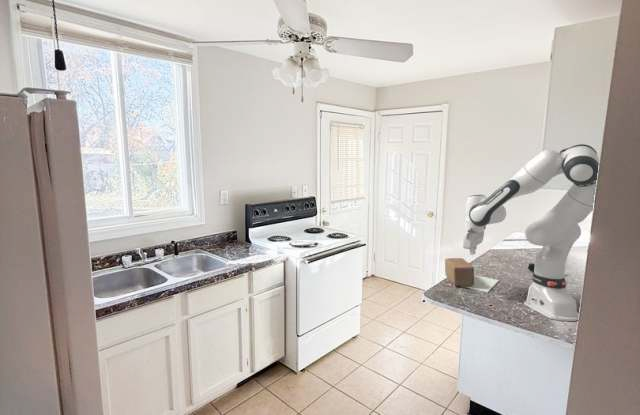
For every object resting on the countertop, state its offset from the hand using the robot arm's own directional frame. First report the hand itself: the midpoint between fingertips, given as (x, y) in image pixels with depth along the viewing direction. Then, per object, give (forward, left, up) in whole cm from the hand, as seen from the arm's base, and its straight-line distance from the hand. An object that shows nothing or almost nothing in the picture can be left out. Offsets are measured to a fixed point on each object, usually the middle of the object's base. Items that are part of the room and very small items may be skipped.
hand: (472, 254), depth 168 cm
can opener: (+26, -54, -19) cm, 63 cm away
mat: (+9, -8, -18) cm, 22 cm away
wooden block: (+2, +2, -12) cm, 13 cm away
